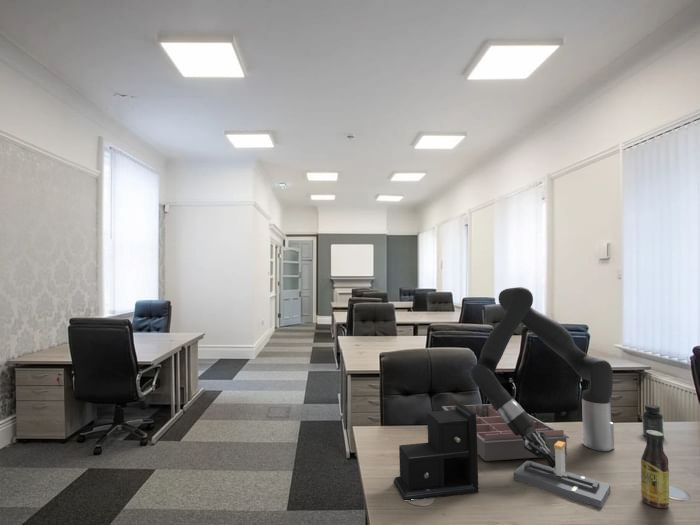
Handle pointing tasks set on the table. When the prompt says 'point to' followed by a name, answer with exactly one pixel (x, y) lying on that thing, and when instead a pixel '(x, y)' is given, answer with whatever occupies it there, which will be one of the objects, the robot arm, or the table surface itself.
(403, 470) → the black drawer cabinet
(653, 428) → the supplement bottle
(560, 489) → the grey slider track base
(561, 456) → the fader tab
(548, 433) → the organizer tray
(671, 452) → the table surface
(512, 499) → the table surface
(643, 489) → the sauce bottle
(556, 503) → the table surface
